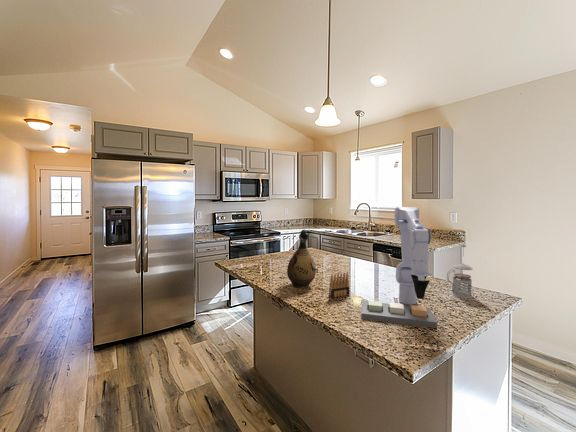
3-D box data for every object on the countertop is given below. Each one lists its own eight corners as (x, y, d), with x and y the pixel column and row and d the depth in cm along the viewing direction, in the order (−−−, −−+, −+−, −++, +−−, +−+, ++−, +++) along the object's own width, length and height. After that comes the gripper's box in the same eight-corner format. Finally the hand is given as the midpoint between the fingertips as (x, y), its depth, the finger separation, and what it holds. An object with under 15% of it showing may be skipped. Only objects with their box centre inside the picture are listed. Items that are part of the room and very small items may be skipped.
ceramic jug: (316, 290, 144) (317, 232, 142) (286, 289, 144) (287, 231, 142) (314, 280, 161) (315, 228, 159) (287, 280, 161) (287, 228, 159)
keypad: (362, 307, 121) (362, 300, 121) (429, 315, 113) (429, 307, 113) (361, 321, 107) (361, 313, 107) (436, 330, 100) (437, 322, 100)
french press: (477, 299, 132) (479, 246, 131) (450, 297, 135) (452, 245, 133) (468, 292, 142) (470, 243, 141) (443, 290, 144) (445, 242, 143)
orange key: (410, 312, 111) (411, 304, 111) (424, 313, 110) (425, 306, 109) (412, 317, 106) (412, 309, 106) (427, 319, 105) (427, 311, 105)
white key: (389, 309, 113) (389, 302, 113) (402, 311, 112) (402, 304, 112) (390, 314, 109) (390, 307, 108) (403, 316, 107) (404, 308, 107)
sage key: (368, 307, 116) (368, 300, 116) (381, 309, 114) (381, 301, 114) (368, 312, 111) (368, 304, 111) (381, 313, 109) (382, 306, 109)
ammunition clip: (347, 295, 136) (347, 271, 135) (349, 297, 134) (350, 272, 133) (328, 299, 131) (329, 273, 130) (330, 300, 129) (331, 274, 129)
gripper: (434, 263, 99) (433, 302, 99) (429, 258, 113) (428, 292, 113) (412, 262, 102) (411, 300, 102) (410, 257, 115) (409, 290, 115)
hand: (419, 296), depth 107 cm, fingers open, 7 cm apart
